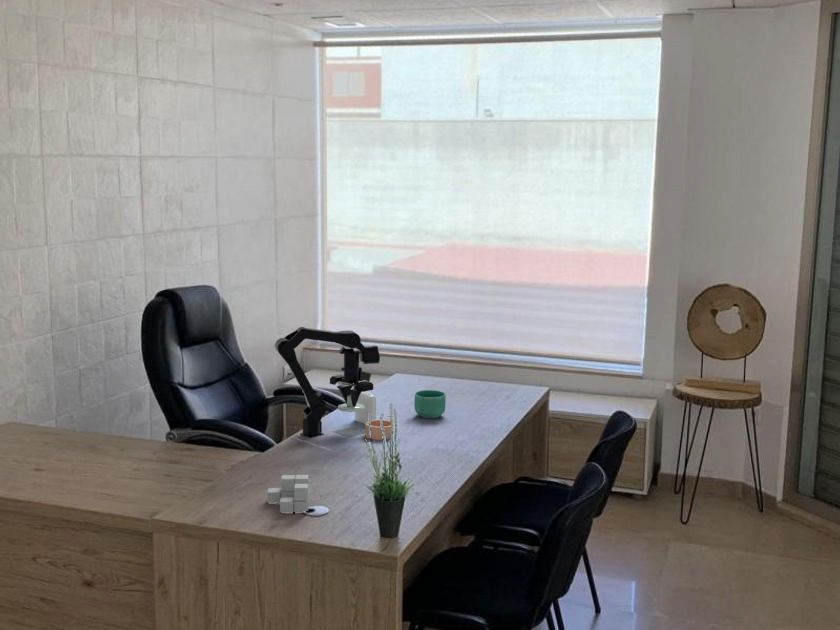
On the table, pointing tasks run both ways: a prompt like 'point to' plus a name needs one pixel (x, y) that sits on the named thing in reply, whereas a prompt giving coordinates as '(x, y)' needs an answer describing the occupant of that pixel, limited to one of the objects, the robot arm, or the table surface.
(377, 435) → the bowl
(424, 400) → the mug
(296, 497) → the puzzle cube
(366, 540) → the table surface
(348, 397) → the lid
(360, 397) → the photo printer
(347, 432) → the mat
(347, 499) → the table surface
